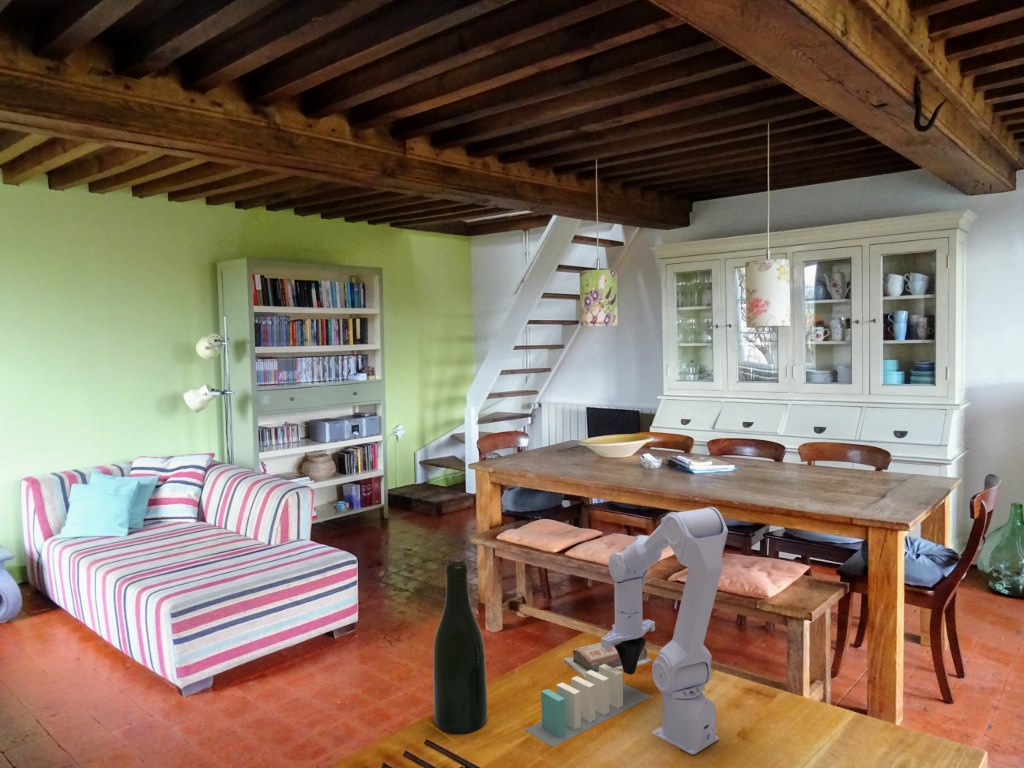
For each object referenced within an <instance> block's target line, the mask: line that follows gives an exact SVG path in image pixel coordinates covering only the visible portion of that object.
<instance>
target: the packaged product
mask: <svg viewBox="0 0 1024 768" xmlns="http://www.w3.org/2000/svg"><path fill="white" fill-rule="evenodd" d="M647 655H648V650H647V648H646V645H645V646H644V647H643V649H642V651H641V653H640V656H639V659H638V663H637V667H638V666H641V665H645V664H653V662H654V661H653V659H651V658H650V657H649V656H647ZM563 660H564V661H563V662H564V663H565V664H566V665H567V666H569V667H570V668H571V669H572V670H574V671H575V672H576V673H578V674H579V675H580V676H581V677H583V679H584V678H585V672H587V671H589V670H592V671H594V672H597V673H599V666H601V665H603V664H606V665H608V666H610V667H612V668H615V669H617V670H619V671H623V667H622V663H621V660H620V657H619V654H618V652H617V650H616V648H615V647H614V646H612V648H611V649H610V650H607V649H605V648H603V647H601V641H600V642H596V643H591V644H587V645H582V646H579V647H575V648H574V649H573V650H572V656H568V657H564V658H563Z"/></svg>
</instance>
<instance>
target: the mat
mask: <svg viewBox="0 0 1024 768" xmlns="http://www.w3.org/2000/svg"><path fill="white" fill-rule="evenodd" d="M650 698H652V696H651V695H649V694H648V693H645V692H644V691H642V690H639V689H637V688H634V687H632V686H630V685H629V684H626V683H623V706H621V707H619V708H616V707H614V706H612V705H610V704H609V713H607V714H605V715H603V714H601V713H599V712H597V711H595V720H593V721H591V722H588V721H587V720H585V719H583V718H581V727H579V728H577V729H573V728H571V727H569V726H568V725H566V724H565V735H563V736H561V737H558V736H556V735H554V734H553V733H551V732H550V731H548V730H547V729H545V728H544V727H542V720H541V721H539V722H538V723H535V724H533V725H532V726H529V727H526V728H525V729H524V731H525V732H527V733H529V734H530V735H532V736H533V737H536V738H537V739H539V740H540V741H542V742H544V743H545V744H547V745H549V746H550V747H552V748H554V747H556V746H558V745H560V744H562V743H564V742H566V741H568V740H570V739H572V738H573V737H575V736H577V735H579V734H581V733H583V732H585V731H588V730H590V729H591V728H593V727H595V726H597V725H599V724H602V723H603V722H605V721H607V720H609V719H610V718H611V719H612V718H613V717H615V716H617V715H618V714H619V715H620V713H623V712H625V711H626V710H629V709H630V708H633V707H635V706H636V705H638V704H640V703H643V702H645V701H646V700H648V699H650Z"/></svg>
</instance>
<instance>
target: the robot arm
mask: <svg viewBox="0 0 1024 768" xmlns="http://www.w3.org/2000/svg"><path fill="white" fill-rule="evenodd" d="M728 532H729V529H728V527H727V525H726V522H725V519H724V517H723V515H722V514H721V512H720V511H719V510H718V509H717V508H715V507H713V506H707V507H705V508H699V509H693V510H685V511H679V512H676V511H675V512H674V511H671V512H669V513H667V514H666V515H665V516H664V517H662V518H661V520H660V525H659V526H657V528H656V529H654V531H652V533H651V534H650V535H643V534H639V535H636V536H635V537H634V540H635V541H633V542H632V543H631V544H630V545H626V546H625V547H624V550H623V551H622V552H612V553H611V554H610V556H609V557H608V561H607V562H608V563H607V565H608V572H609V575H610V576H611V578H612V580H613V581H614V583H613V584H614V586H613V587H614V588H613V589H614V591H613V592H614V594H613V596H614V624H612V625H611V628H612V629H611V630H610V631H609V632H608V633H607V634H606V635H604V636H603V637H601V639H600V640H601V641H600V642H601V647H603V648H605V649H607V650H610V649H611V648H612V646H614V647H615V648H616V650H617V652H618V654H619V657H620V660H621V663H622V667H623V670H622V672H623V673H625V674H627V675H630V676H632V675H634V674H635V673H636V670H637V667H638V666H637V663H638V659H639V656H640V653H641V651H642V649H643V647H644V646H645V647H646V644H647V643H646V642H647V641H646V639H645V638H643V636H644V635H645V634H646V633H647V632H654V631H656V622H655V621H654V620H651V619H648V618H647V619H643V587H645V585H646V577H647V575H648V573H649V568H651V567H652V566H653V565H655V564H656V563H657V562H659V561H660V559H661V557H662V556H663V555H662V554H663V553H662V551H663V550H665V549H667V548H668V547H670V548H671V550H672V552H673V554H674V555H675V556H676V559H677V560H678V562H679V564H680V565H682V566H684V567H686V568H687V569H688V570H687V575H686V579H685V583H684V588H683V593H682V596H681V601H680V605H679V610H678V613H677V616H676V617H677V618H676V622H675V627H674V631H673V636H672V639H671V640H669V642H668V643H666V644H665V645H664V646H662V648H660V650H659V651H658V656H657V658H656V659H654V661H653V663H652V665H651V666H652V667H651V675H652V680H653V683H654V685H655V686H656V688H657V689H658V690H659V691H660V692H661V700H662V701H661V703H662V704H661V705H662V706H661V717H662V719H661V721H662V722H661V723H662V724H661V725H662V726H661V727H658V728H656V729H655V730H653V731H652V735H653V736H656V737H658V738H659V739H661V740H664V741H666V742H668V743H669V744H672V745H673V746H675V747H677V748H679V749H681V751H684V752H685V753H688V754H690V755H692V756H694V755H696V754H698V753H699V752H700V751H703V750H704V749H705V748H707V747H709V746H710V745H712V744H713V743H715V742H717V741H719V736H718V735H717V710H716V705H715V703H714V701H712V700H710V699H709V698H708V697H706V696H705V694H704V693H703V692H704V691H706V686H705V685H706V684H707V685H708V683H709V682H710V681H711V678H712V665H711V664H712V663H711V662H712V658H713V656H712V654H711V652H710V651H709V649H708V648H707V646H706V645H705V644H704V642H705V638H706V635H707V630H708V627H709V624H710V619H711V614H712V612H713V611H712V610H713V607H714V604H715V599H716V596H717V595H716V594H717V592H718V588H719V584H720V583H719V582H720V579H721V575H722V571H723V553H724V549H725V545H726V541H727V537H728Z"/></svg>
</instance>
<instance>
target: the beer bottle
mask: <svg viewBox="0 0 1024 768" xmlns="http://www.w3.org/2000/svg"><path fill="white" fill-rule="evenodd" d="M465 559H466V558H465V557H464V556H459V555H456V556H451V557H448V559H447V564H446V565H445V569H444V571H445V585H446V586H445V601H444V605H443V606H444V608H443V611H442V613H441V617H440V621H439V623H438V626H437V629H436V632H435V636H434V641H433V652H432V653H433V655H432V657H433V658H432V662H433V663H432V664H433V666H432V667H433V668H432V673H433V674H432V675H433V676H432V678H433V680H432V681H433V685H432V687H433V689H432V690H433V692H432V693H433V719H434V724H435V726H436V728H438V729H439V730H440V731H442V732H444V733H448V734H452V735H464V734H465V735H466V734H470V733H472V732H475V731H478V730H480V729H481V728H482V727H483V726H484V725H485V724H486V722H487V720H488V699H487V698H488V696H487V695H488V694H487V692H488V691H487V677H486V676H487V675H486V672H487V671H486V670H487V669H486V654H485V644H484V643H485V642H484V639H483V634H482V631H481V628H480V625H479V624H478V621H477V618H476V616H475V613H474V611H473V608H472V605H471V604H472V603H471V599H470V593H469V579H468V577H469V575H468V573H469V567H468V563H466V560H465Z"/></svg>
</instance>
